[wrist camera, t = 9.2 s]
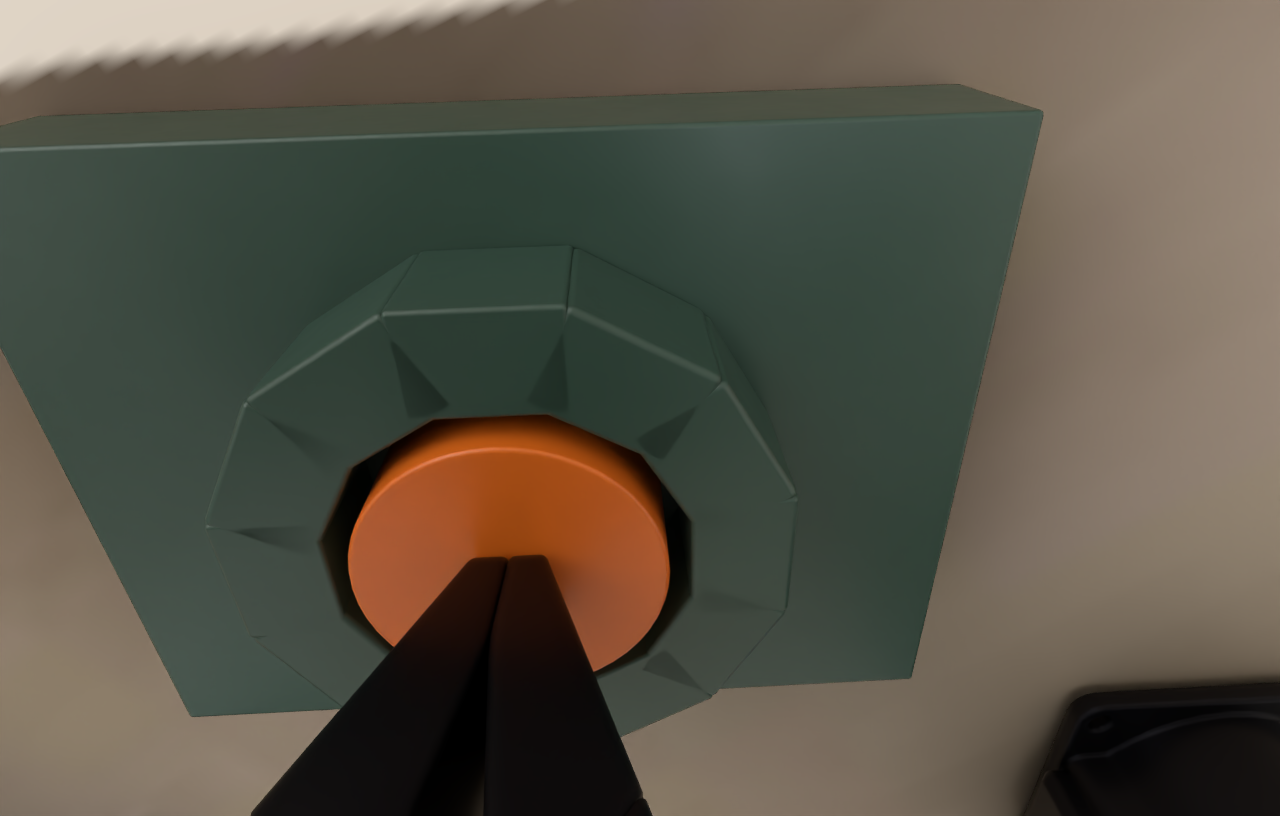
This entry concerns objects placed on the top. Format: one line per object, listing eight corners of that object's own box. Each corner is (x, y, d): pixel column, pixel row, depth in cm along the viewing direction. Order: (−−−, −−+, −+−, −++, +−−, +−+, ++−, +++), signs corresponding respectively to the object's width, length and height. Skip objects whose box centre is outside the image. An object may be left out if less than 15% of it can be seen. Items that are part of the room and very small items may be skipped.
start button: (658, 362, 9) (669, 440, 7) (661, 582, 11) (671, 681, 9) (359, 375, 9) (309, 458, 7) (414, 595, 11) (382, 696, 9)
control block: (961, 83, 10) (1154, 144, 6) (871, 586, 14) (955, 780, 11) (37, 115, 10) (-285, 196, 6) (245, 618, 14) (129, 827, 11)
